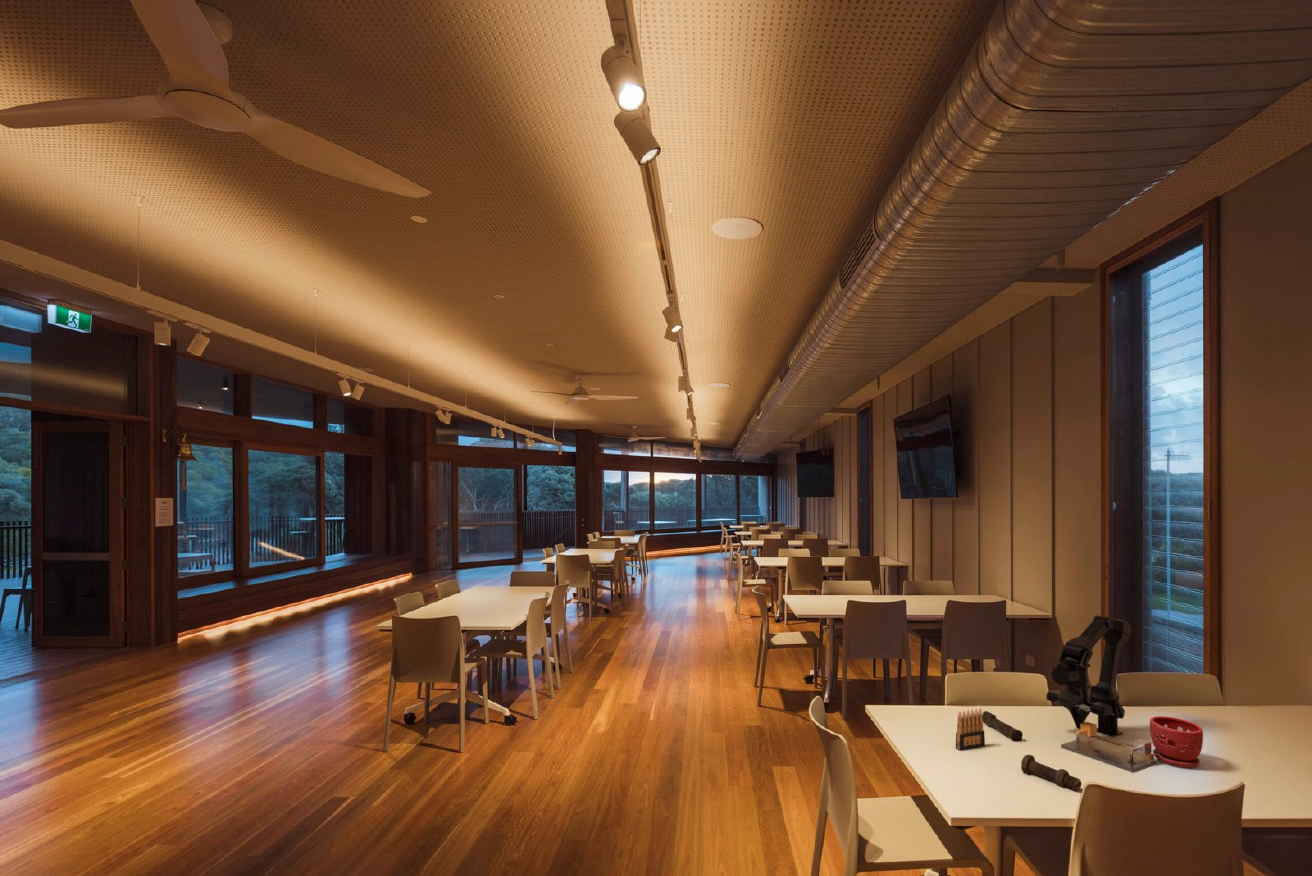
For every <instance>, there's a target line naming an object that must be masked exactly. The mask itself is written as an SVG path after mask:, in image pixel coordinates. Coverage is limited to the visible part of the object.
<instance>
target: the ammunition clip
mask: <svg viewBox="0 0 1312 876" xmlns="http://www.w3.org/2000/svg"><path fill="white" fill-rule="evenodd" d="M982 715H983V711H982V709H981V708H979V709H977V708H975V710H973V709H971V710H970V711H969V709H968V710H967V711H966V712H965V710H963V711H962V713H961V711H958V714H957V723H956V732H955V749H956V750H957V751H959V752H962V751H967V750H973V749H978V748H979V749H980V748H985V747H986V741H985V739H986V738H985V730H984V722H983V719H982Z"/></svg>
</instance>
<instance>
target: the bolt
mask: <svg viewBox="0 0 1312 876" xmlns="http://www.w3.org/2000/svg"><path fill="white" fill-rule="evenodd" d="M1020 765H1021V766H1020V767H1021V771H1022V773H1023V774H1025V775H1030V774H1035V775H1038V776H1040V777H1043V778H1045V779H1047V780H1049V781H1053V782H1055V784H1056V786H1057V787H1060V788H1066V787H1067V788H1069V789H1072V790H1075V791H1078V790H1080V789H1081V787H1082V781H1081V779H1080V778H1078V777H1075V776H1073V775H1070V773H1069V772H1068V770H1066V769H1064V768H1061V769H1058V770H1057V769H1055V768H1053V767H1050V766H1048V765H1045V764H1043V763H1039V762H1038V761H1036V758H1035V756H1034V755H1032V754H1025V755H1024V756H1023V758H1022V759H1021V763H1020Z"/></svg>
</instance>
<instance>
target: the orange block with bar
mask: <svg viewBox="0 0 1312 876" xmlns="http://www.w3.org/2000/svg"><path fill="white" fill-rule="evenodd" d="M1080 727H1081V729H1078V730H1076V731H1075V736H1076V737H1075V740H1076V743H1077V744H1079V735H1081V734H1084V735H1087V736H1097V735H1098V732H1097V728H1098V724H1095V723H1092V722H1090V721H1085V722H1084V723H1081V724H1080Z"/></svg>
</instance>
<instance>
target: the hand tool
mask: <svg viewBox="0 0 1312 876" xmlns="http://www.w3.org/2000/svg"><path fill="white" fill-rule="evenodd" d="M982 719H983V724H984V725H986V726H987V727H988V728H991V729H992V728H993V729H995V730H996V731H998V732H999V733H1001V734H1003V735H1005V736H1006V737H1008V738H1010V739H1011V741H1012V742H1021V741H1022V739H1023V735H1024V734H1023V731H1022V730H1020V729H1016V728H1015V727H1013V726H1012V725H1009V724H1007V723H1005V722H1003V721H1002V720H1000V719H998V718H997V715H995V714H993V713H992V712H990V711H987V710H985V711H982Z"/></svg>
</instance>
